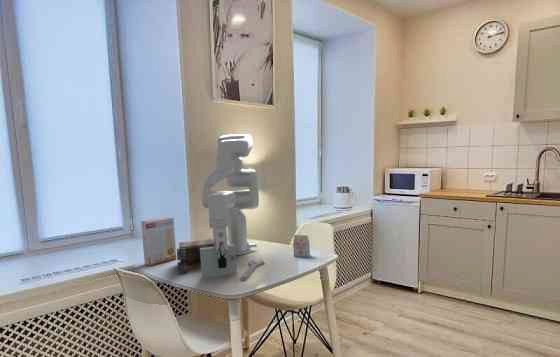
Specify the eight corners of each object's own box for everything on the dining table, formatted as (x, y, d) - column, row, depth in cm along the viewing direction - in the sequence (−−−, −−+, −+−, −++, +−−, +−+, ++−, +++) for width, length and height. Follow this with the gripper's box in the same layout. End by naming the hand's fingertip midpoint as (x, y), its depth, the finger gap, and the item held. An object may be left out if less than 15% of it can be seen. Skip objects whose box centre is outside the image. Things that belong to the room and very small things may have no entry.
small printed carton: (297, 254, 167) (296, 234, 167) (309, 255, 164) (309, 234, 164) (293, 256, 164) (293, 235, 163) (306, 257, 161) (306, 236, 160)
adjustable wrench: (246, 282, 132) (245, 278, 132) (230, 281, 134) (230, 277, 134) (265, 262, 156) (265, 259, 156) (252, 262, 158) (252, 258, 158)
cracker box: (171, 257, 172) (168, 216, 171) (177, 259, 168) (174, 217, 167) (143, 264, 162) (140, 220, 161) (149, 266, 158) (146, 221, 157)
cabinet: (212, 259, 164) (211, 239, 164) (216, 269, 149) (215, 246, 148) (177, 264, 160) (176, 243, 159) (178, 274, 144) (176, 251, 144)
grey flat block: (235, 272, 144) (234, 244, 143) (237, 274, 140) (235, 246, 140) (201, 277, 140) (199, 248, 139) (202, 279, 136) (200, 250, 136)
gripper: (231, 225, 133) (233, 269, 133) (224, 219, 149) (227, 258, 150) (211, 227, 130) (214, 272, 131) (207, 220, 147) (209, 260, 148)
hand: (221, 264), depth 140 cm, fingers open, 9 cm apart
